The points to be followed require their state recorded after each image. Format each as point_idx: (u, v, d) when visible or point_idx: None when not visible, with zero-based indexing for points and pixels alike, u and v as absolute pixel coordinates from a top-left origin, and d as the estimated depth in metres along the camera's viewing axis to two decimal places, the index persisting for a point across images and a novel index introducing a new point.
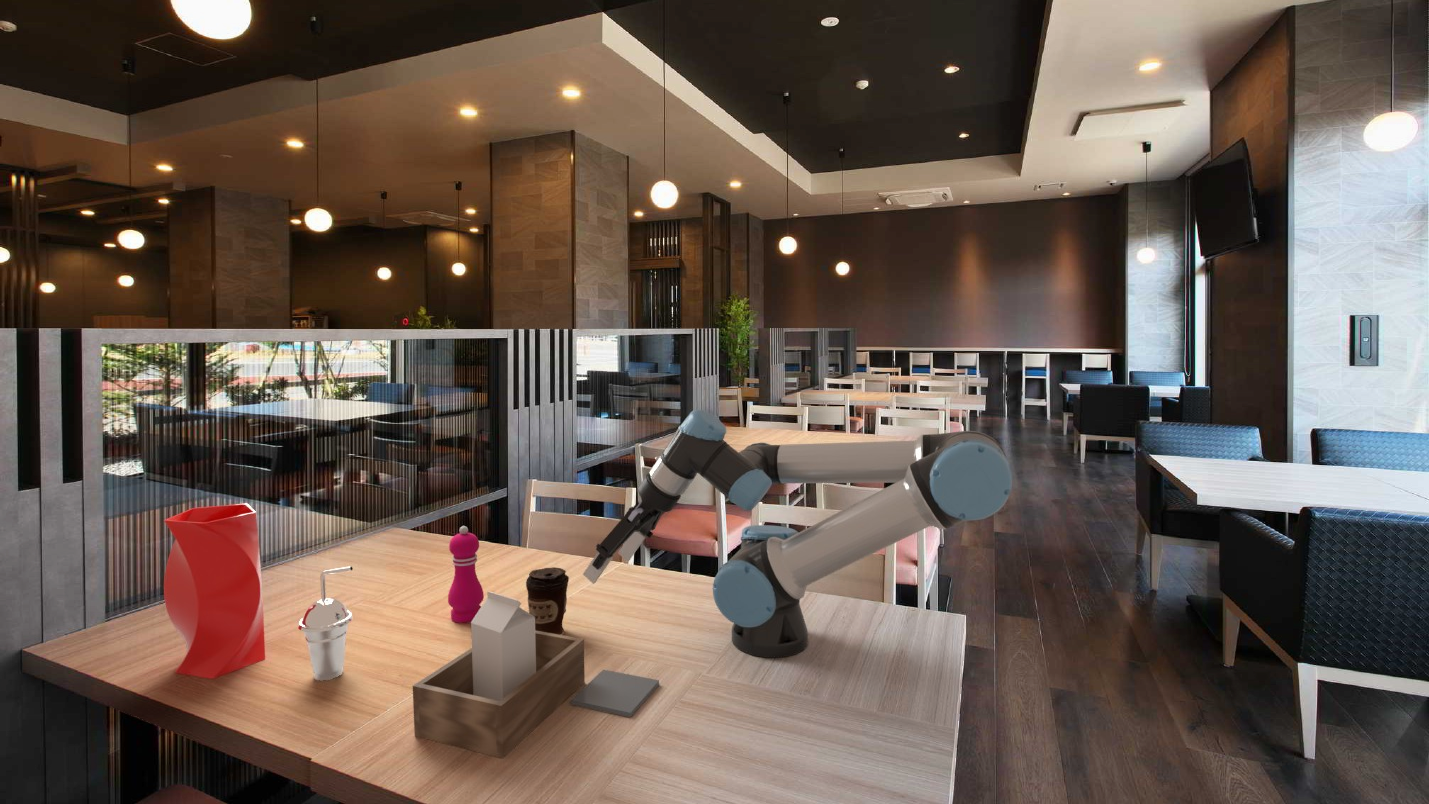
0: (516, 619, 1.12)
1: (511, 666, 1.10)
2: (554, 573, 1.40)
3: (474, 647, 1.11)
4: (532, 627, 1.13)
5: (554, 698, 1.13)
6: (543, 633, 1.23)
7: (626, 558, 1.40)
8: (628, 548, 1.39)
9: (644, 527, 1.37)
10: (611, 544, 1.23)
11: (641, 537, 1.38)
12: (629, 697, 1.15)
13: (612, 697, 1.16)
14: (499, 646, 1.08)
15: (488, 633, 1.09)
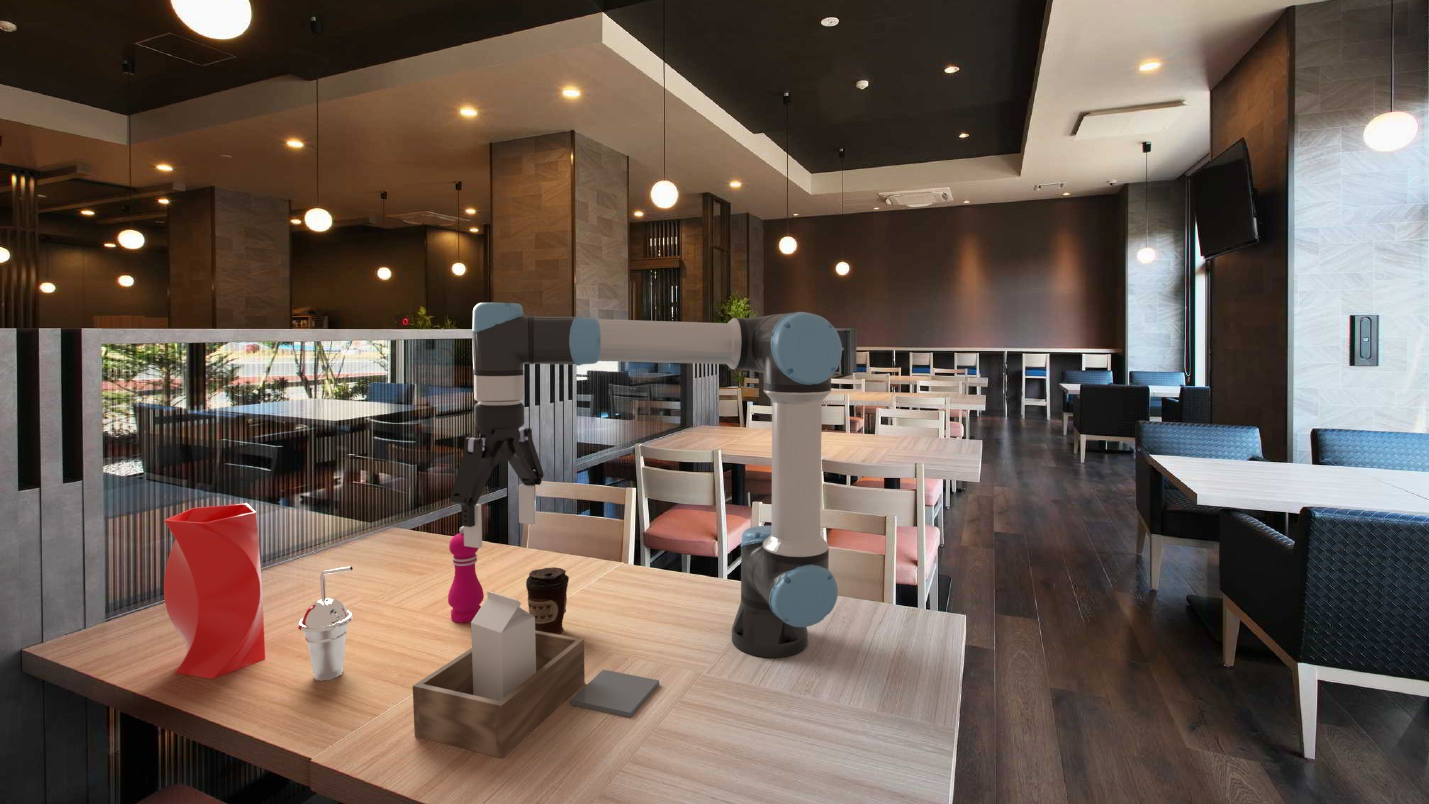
0: (516, 619, 1.12)
1: (511, 666, 1.10)
2: (554, 573, 1.40)
3: (474, 647, 1.11)
4: (532, 627, 1.13)
5: (554, 698, 1.13)
6: (543, 633, 1.23)
7: (529, 522, 1.17)
8: (525, 509, 1.17)
9: (523, 474, 1.15)
10: (463, 485, 1.01)
11: (529, 488, 1.16)
12: (629, 697, 1.15)
13: (612, 697, 1.16)
14: (498, 646, 1.08)
15: (488, 633, 1.09)
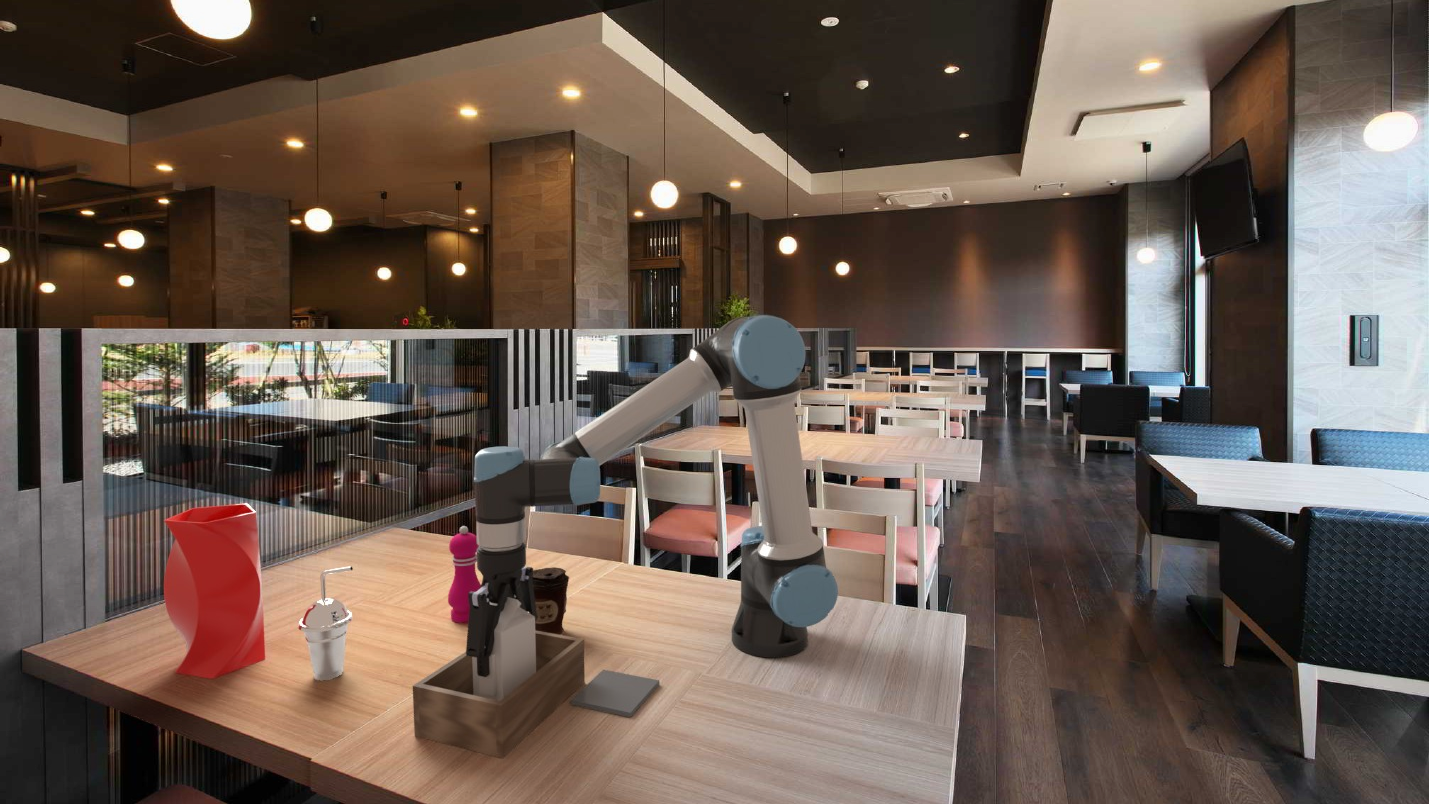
0: (516, 619, 1.12)
1: (511, 666, 1.10)
2: (554, 573, 1.40)
3: None
4: (532, 627, 1.13)
5: (554, 698, 1.13)
6: (543, 633, 1.23)
7: None
8: None
9: None
10: (475, 641, 1.05)
11: None
12: (629, 697, 1.15)
13: (612, 697, 1.16)
14: (499, 646, 1.08)
15: None
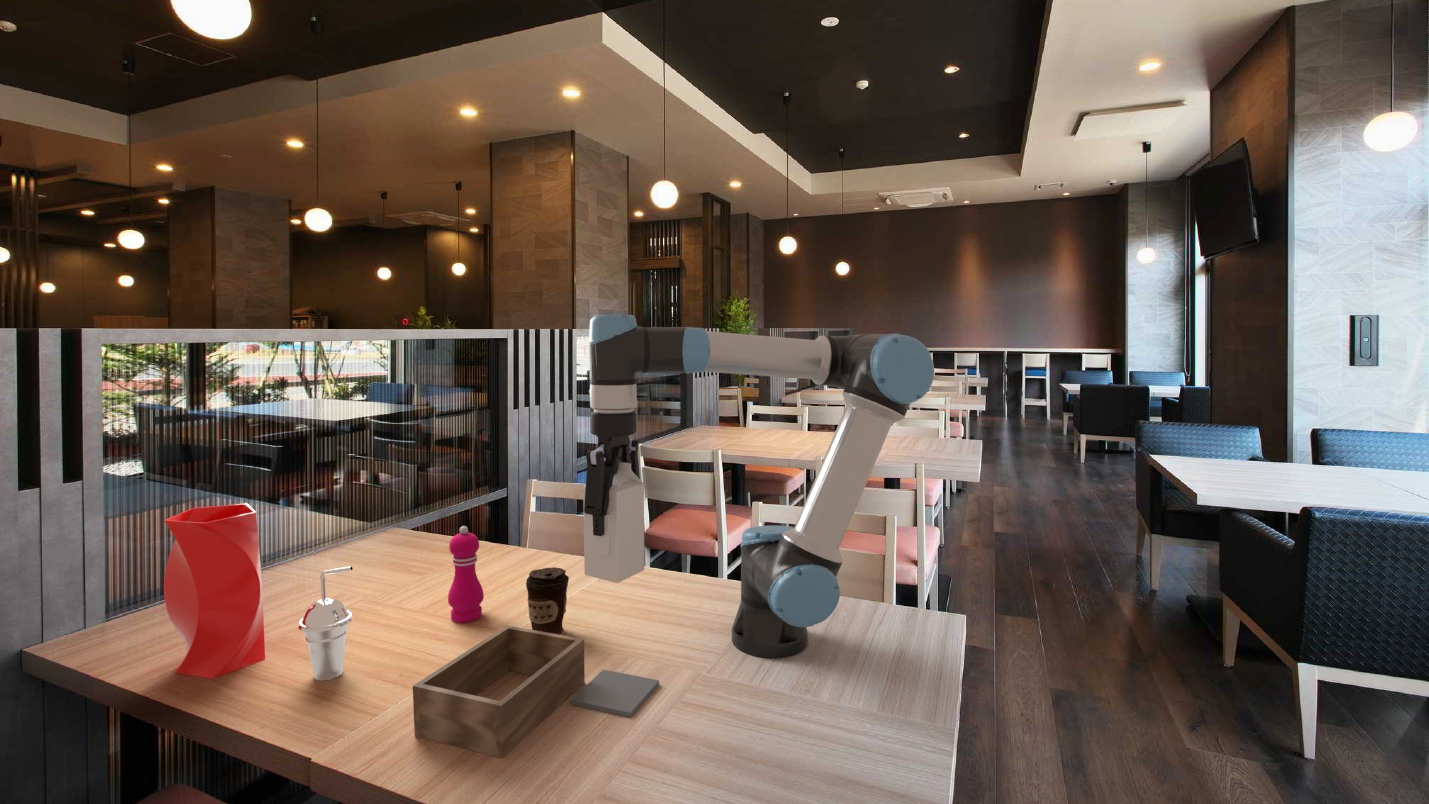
0: (627, 484, 1.14)
1: (624, 528, 1.12)
2: (554, 573, 1.40)
3: None
4: (641, 493, 1.15)
5: (554, 698, 1.13)
6: (543, 633, 1.23)
7: None
8: None
9: None
10: (594, 498, 1.07)
11: None
12: (629, 697, 1.15)
13: (612, 697, 1.16)
14: (614, 506, 1.10)
15: None
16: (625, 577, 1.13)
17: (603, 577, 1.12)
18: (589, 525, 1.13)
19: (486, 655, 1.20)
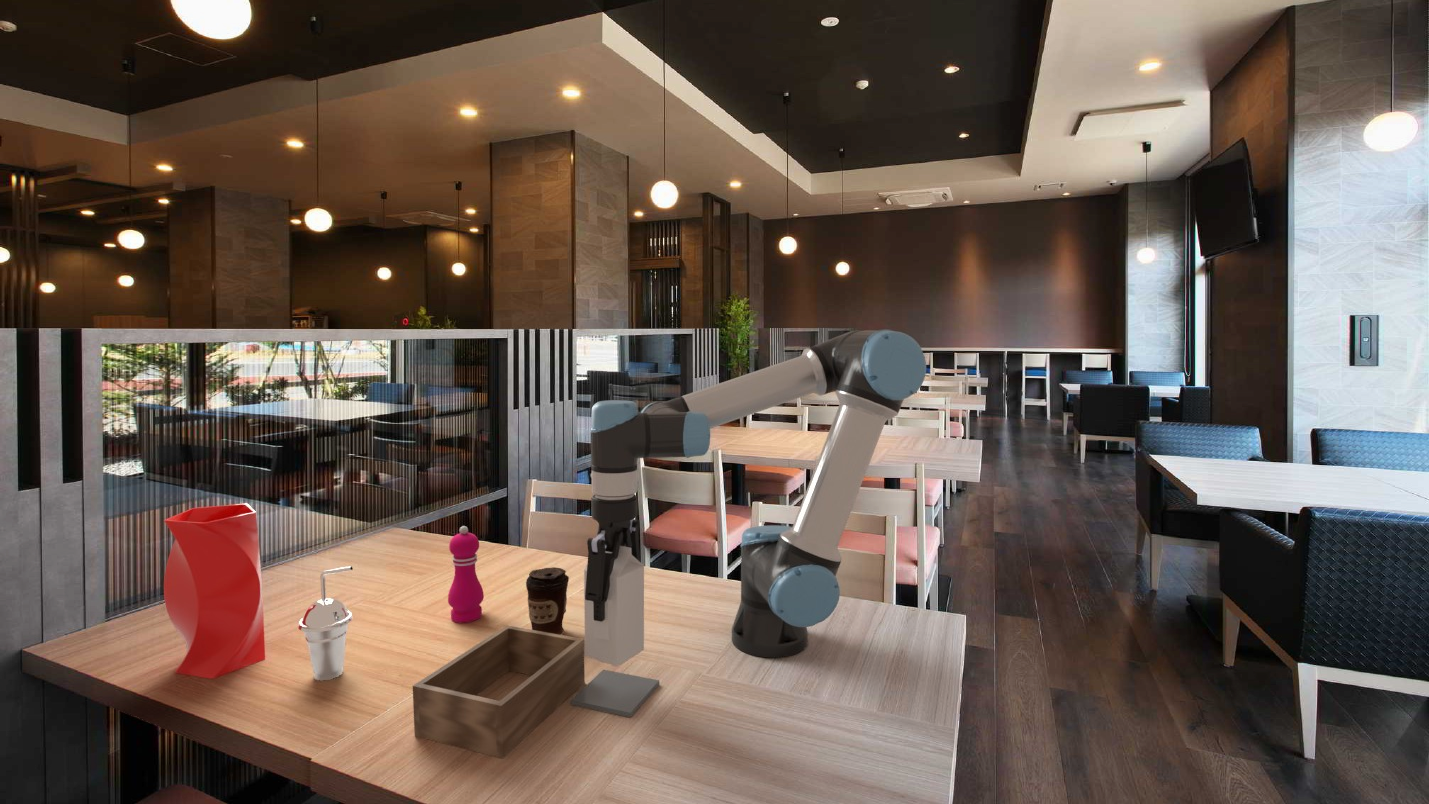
0: (627, 567, 1.15)
1: (624, 612, 1.13)
2: (554, 573, 1.40)
3: None
4: (641, 576, 1.16)
5: (554, 698, 1.13)
6: (543, 633, 1.23)
7: None
8: None
9: None
10: (594, 586, 1.09)
11: None
12: (629, 697, 1.15)
13: (612, 697, 1.16)
14: (614, 591, 1.11)
15: None
16: (625, 660, 1.14)
17: (603, 660, 1.14)
18: (590, 608, 1.15)
19: (486, 655, 1.20)
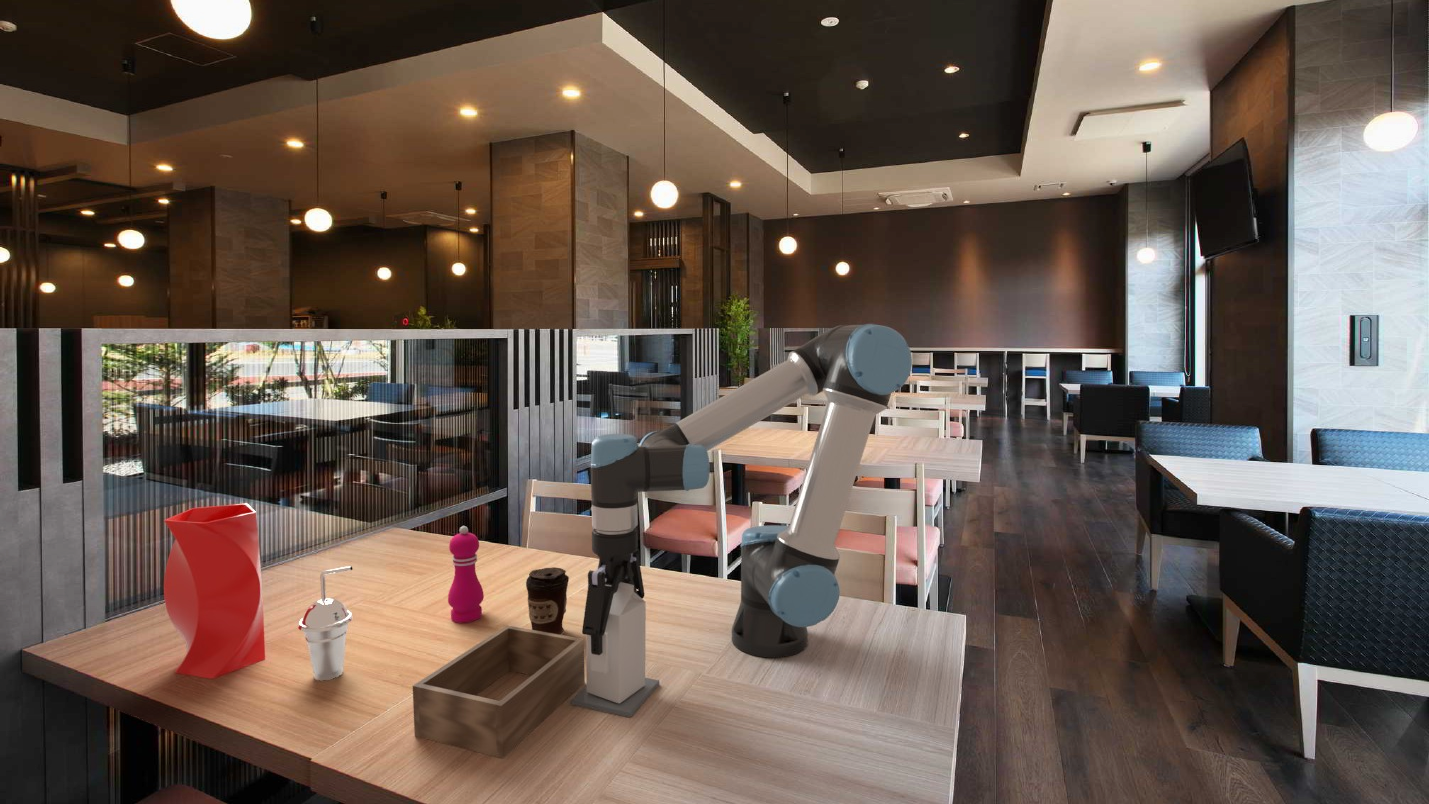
0: (629, 603, 1.16)
1: (626, 649, 1.14)
2: (554, 573, 1.40)
3: None
4: (643, 612, 1.17)
5: (554, 698, 1.13)
6: (543, 633, 1.23)
7: None
8: None
9: None
10: (592, 619, 1.09)
11: None
12: (629, 697, 1.15)
13: None
14: (617, 629, 1.12)
15: None
16: (627, 696, 1.15)
17: (605, 696, 1.15)
18: None
19: (486, 655, 1.20)
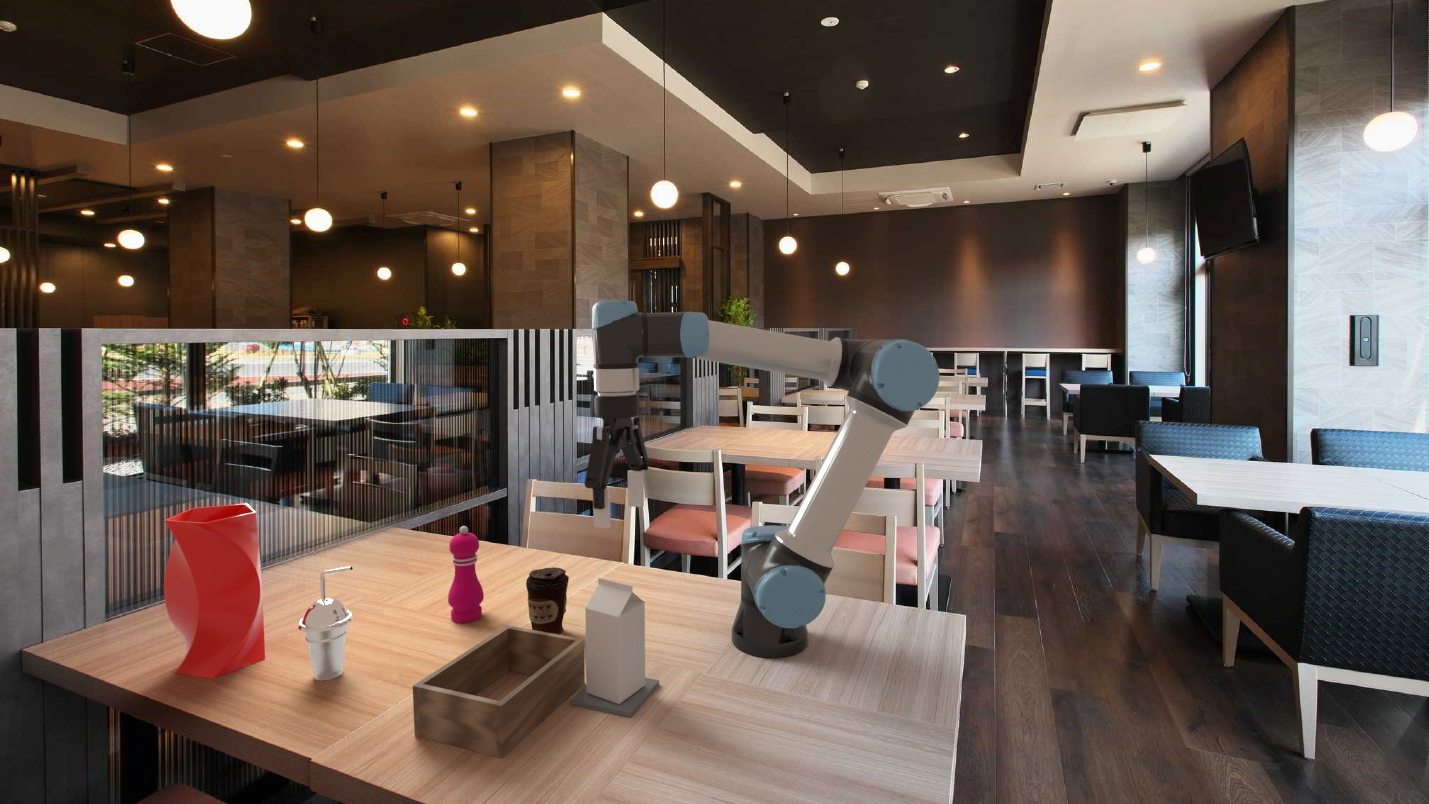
0: (628, 604, 1.16)
1: (626, 650, 1.14)
2: (554, 573, 1.40)
3: (588, 631, 1.15)
4: (642, 612, 1.17)
5: (554, 698, 1.13)
6: (543, 633, 1.23)
7: (639, 505, 1.25)
8: (634, 493, 1.25)
9: (634, 460, 1.24)
10: (596, 471, 1.10)
11: (638, 473, 1.25)
12: (629, 697, 1.15)
13: None
14: (616, 630, 1.12)
15: (604, 617, 1.13)
16: (627, 697, 1.15)
17: (605, 697, 1.15)
18: (591, 645, 1.15)
19: (486, 655, 1.20)
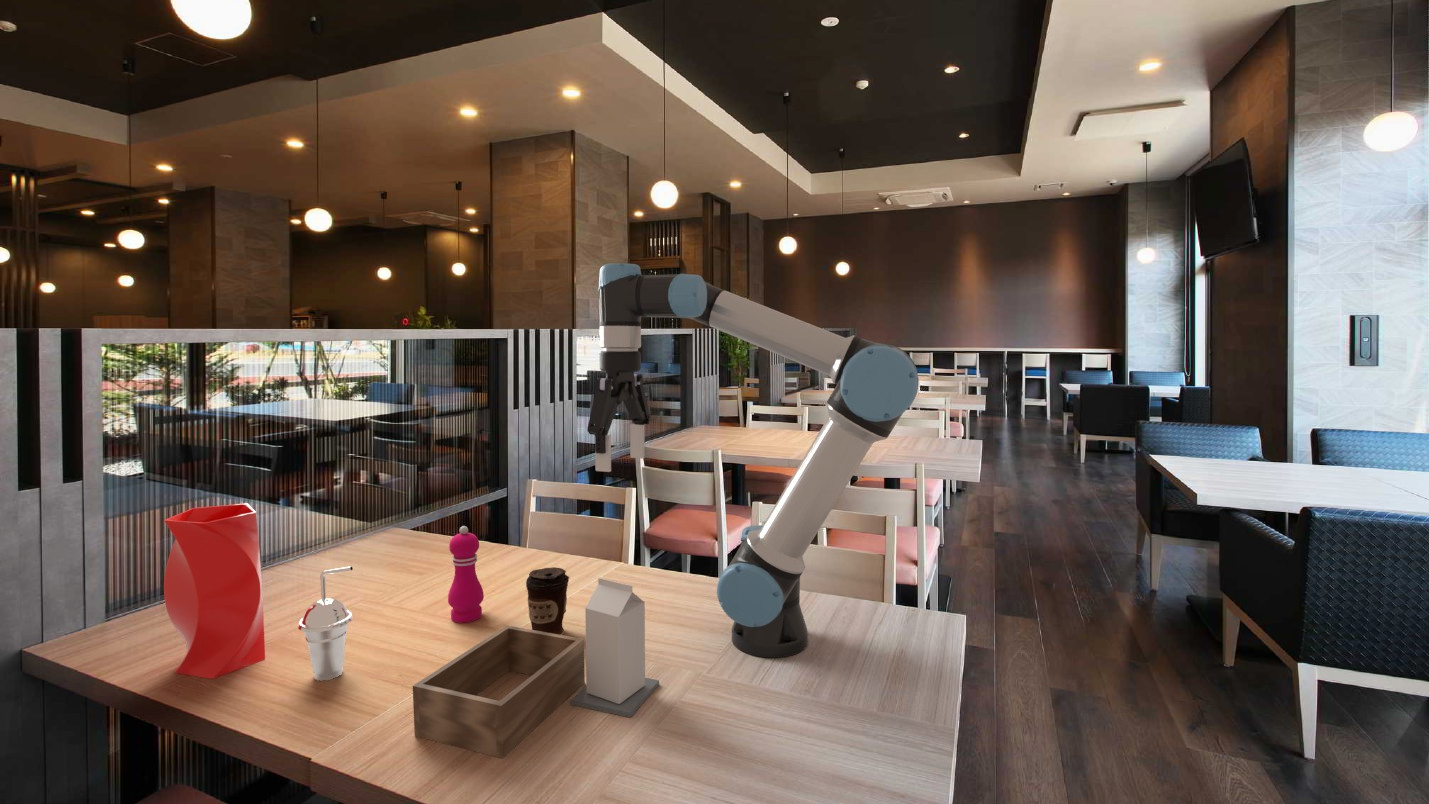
0: (628, 604, 1.16)
1: (626, 650, 1.14)
2: (554, 573, 1.40)
3: (588, 631, 1.15)
4: (642, 612, 1.17)
5: (554, 698, 1.13)
6: (543, 633, 1.23)
7: (640, 456, 1.35)
8: (636, 446, 1.35)
9: (636, 414, 1.34)
10: (598, 417, 1.20)
11: (640, 427, 1.34)
12: (629, 697, 1.15)
13: None
14: (616, 630, 1.12)
15: (604, 617, 1.13)
16: (627, 697, 1.15)
17: (605, 697, 1.15)
18: (591, 645, 1.15)
19: (486, 655, 1.20)
